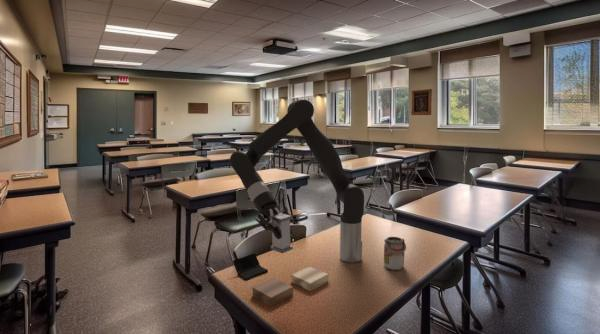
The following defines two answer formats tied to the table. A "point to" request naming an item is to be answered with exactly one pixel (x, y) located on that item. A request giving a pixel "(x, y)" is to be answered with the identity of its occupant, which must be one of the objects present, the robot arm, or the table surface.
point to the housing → (284, 228)
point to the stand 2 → (309, 278)
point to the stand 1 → (272, 291)
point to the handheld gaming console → (248, 267)
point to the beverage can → (394, 253)
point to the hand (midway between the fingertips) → (285, 235)
